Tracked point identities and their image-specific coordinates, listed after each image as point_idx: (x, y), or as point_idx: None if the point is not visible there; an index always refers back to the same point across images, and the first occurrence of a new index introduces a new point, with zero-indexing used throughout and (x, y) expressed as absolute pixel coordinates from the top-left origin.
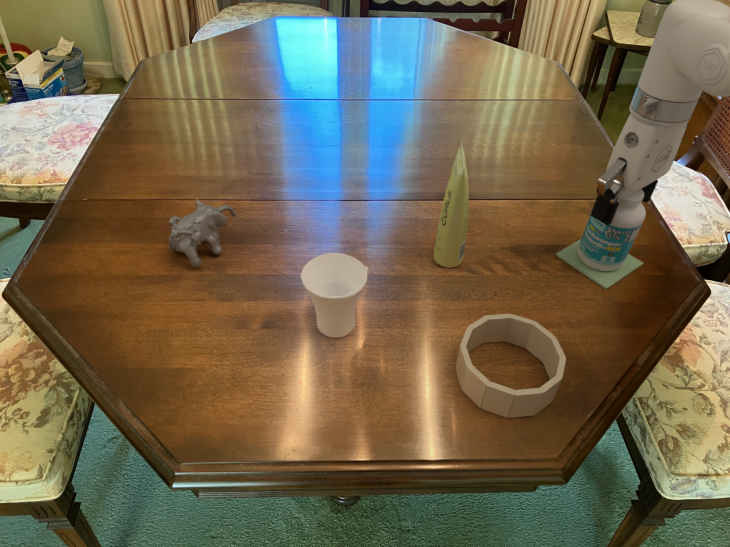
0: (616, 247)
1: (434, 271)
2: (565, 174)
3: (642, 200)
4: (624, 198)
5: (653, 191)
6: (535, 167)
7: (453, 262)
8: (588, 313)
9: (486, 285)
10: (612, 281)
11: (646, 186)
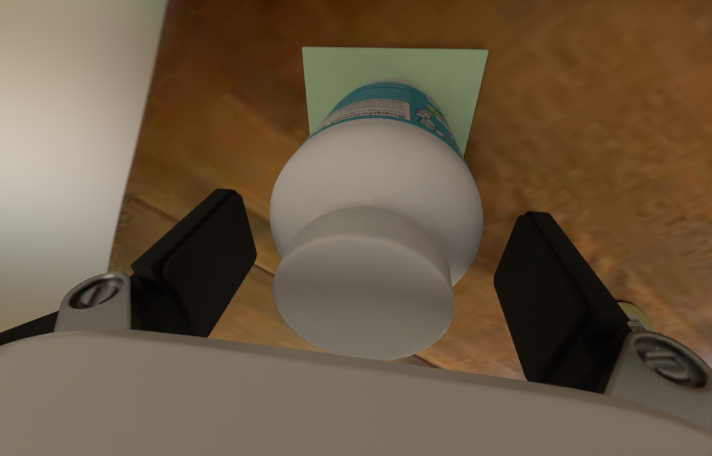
0: (442, 119)
1: (659, 315)
2: (227, 307)
3: (242, 207)
4: (450, 296)
5: (185, 217)
6: (261, 338)
7: (643, 316)
8: (636, 13)
9: (653, 244)
10: (448, 56)
11: (205, 260)
